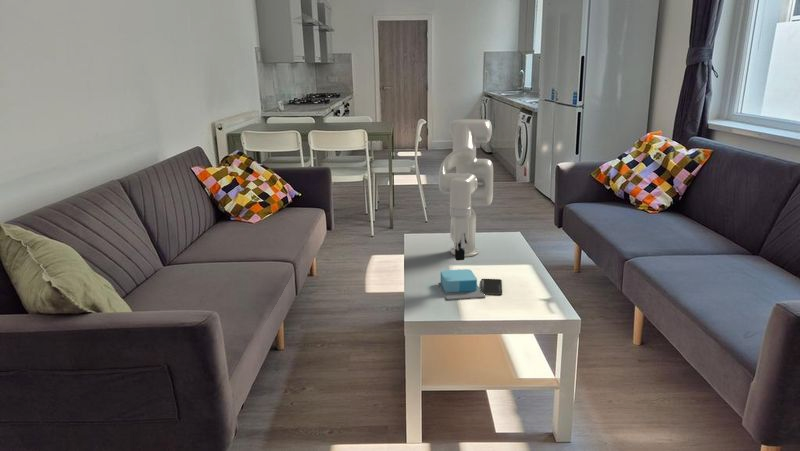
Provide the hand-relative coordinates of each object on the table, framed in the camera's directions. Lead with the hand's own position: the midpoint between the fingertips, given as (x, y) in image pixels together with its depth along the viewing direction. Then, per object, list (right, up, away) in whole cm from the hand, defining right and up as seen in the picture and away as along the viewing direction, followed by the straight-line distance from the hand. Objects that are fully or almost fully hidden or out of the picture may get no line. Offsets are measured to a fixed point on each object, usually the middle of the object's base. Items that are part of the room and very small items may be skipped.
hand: (459, 259), depth 202 cm
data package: (-1, -6, +8) cm, 10 cm away
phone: (+12, -11, +2) cm, 17 cm away
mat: (0, -12, -1) cm, 12 cm away
